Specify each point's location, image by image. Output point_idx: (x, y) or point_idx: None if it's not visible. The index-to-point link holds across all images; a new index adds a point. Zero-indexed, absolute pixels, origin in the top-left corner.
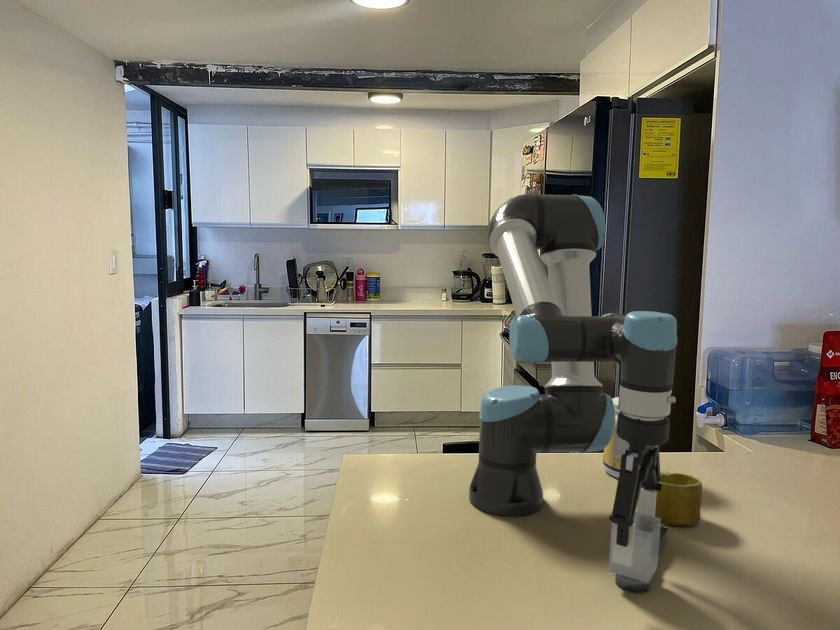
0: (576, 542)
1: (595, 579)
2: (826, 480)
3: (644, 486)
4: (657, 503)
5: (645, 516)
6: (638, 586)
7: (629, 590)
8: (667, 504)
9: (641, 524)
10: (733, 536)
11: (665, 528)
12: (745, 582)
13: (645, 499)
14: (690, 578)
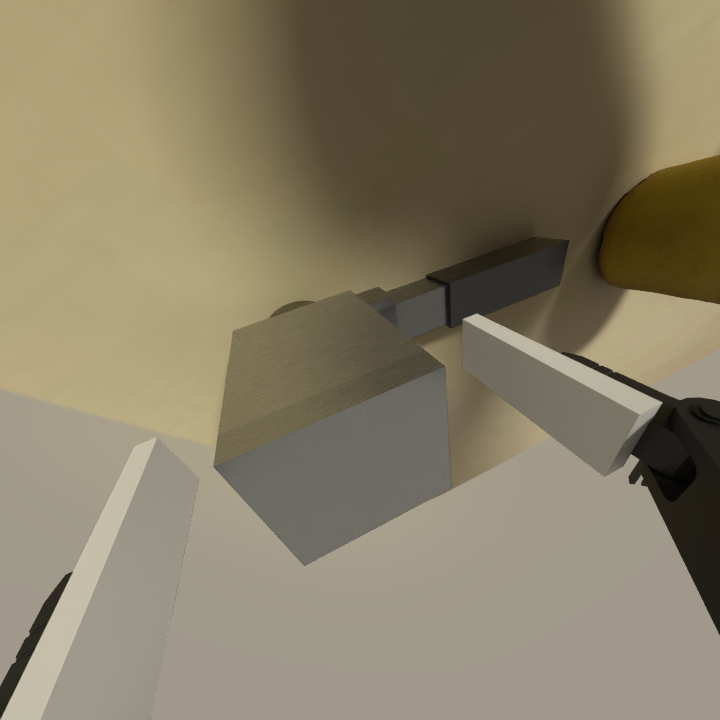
0: (392, 46)
1: (233, 267)
2: None
3: (668, 432)
4: (674, 203)
5: (432, 463)
6: None
7: None
8: (665, 238)
9: (344, 510)
10: (585, 341)
11: (556, 281)
12: (454, 426)
13: (567, 409)
14: None
